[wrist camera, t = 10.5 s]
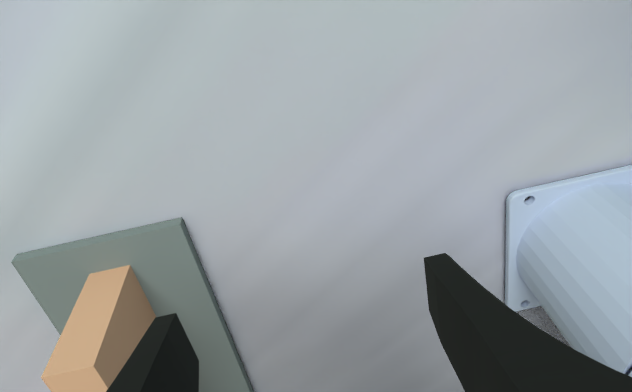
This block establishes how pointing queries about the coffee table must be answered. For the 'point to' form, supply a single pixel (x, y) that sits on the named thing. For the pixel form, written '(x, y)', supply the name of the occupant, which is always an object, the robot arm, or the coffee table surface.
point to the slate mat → (157, 283)
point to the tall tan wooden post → (99, 333)
